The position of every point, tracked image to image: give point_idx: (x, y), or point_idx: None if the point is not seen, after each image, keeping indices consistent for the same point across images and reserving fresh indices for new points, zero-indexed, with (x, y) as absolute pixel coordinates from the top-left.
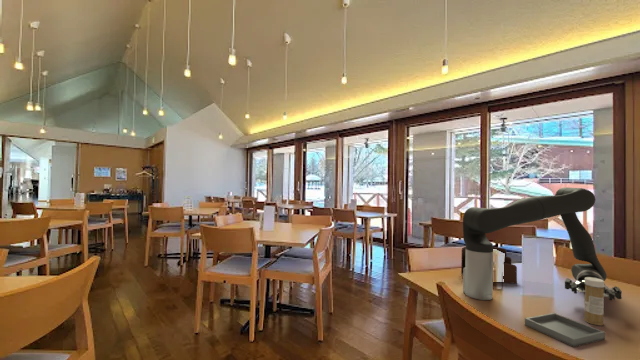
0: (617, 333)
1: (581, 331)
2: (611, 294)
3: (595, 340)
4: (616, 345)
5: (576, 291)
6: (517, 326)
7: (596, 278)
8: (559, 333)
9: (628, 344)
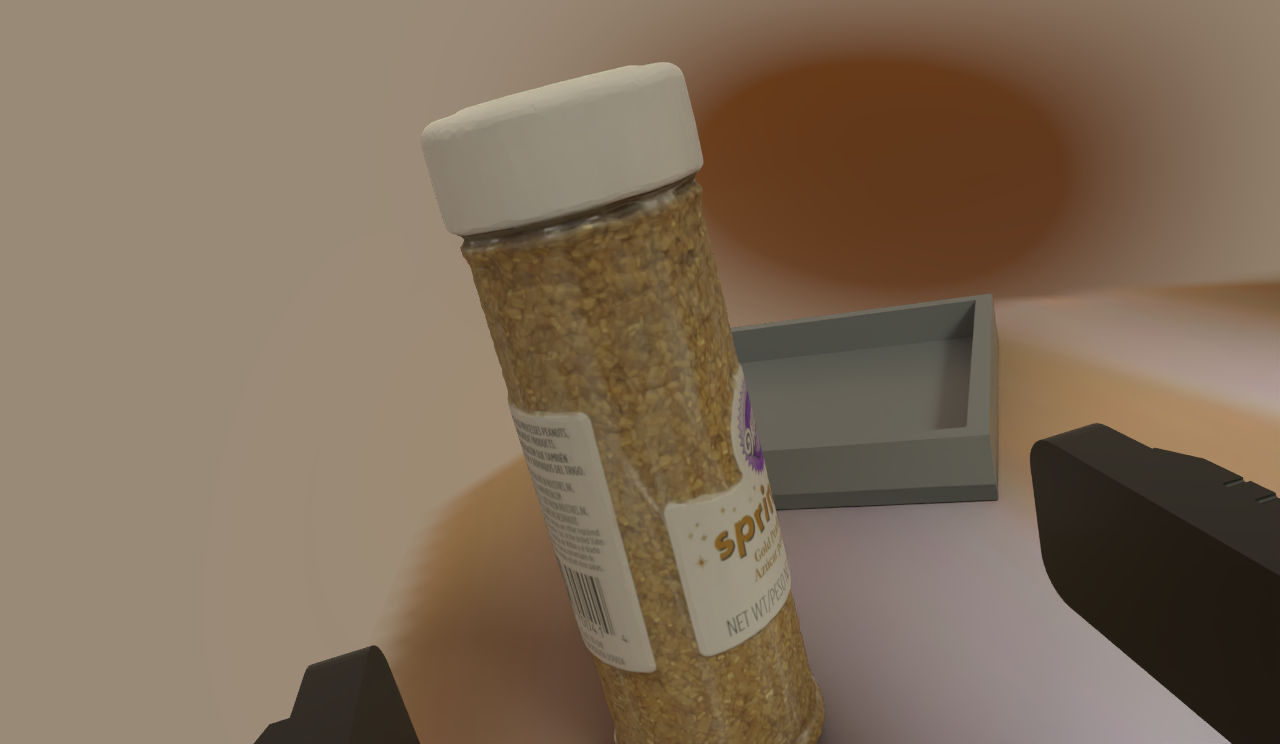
0: (499, 676)
1: None
2: (338, 669)
3: None
4: (523, 510)
5: (1043, 527)
6: (997, 317)
7: (516, 96)
8: (760, 325)
9: (451, 571)
